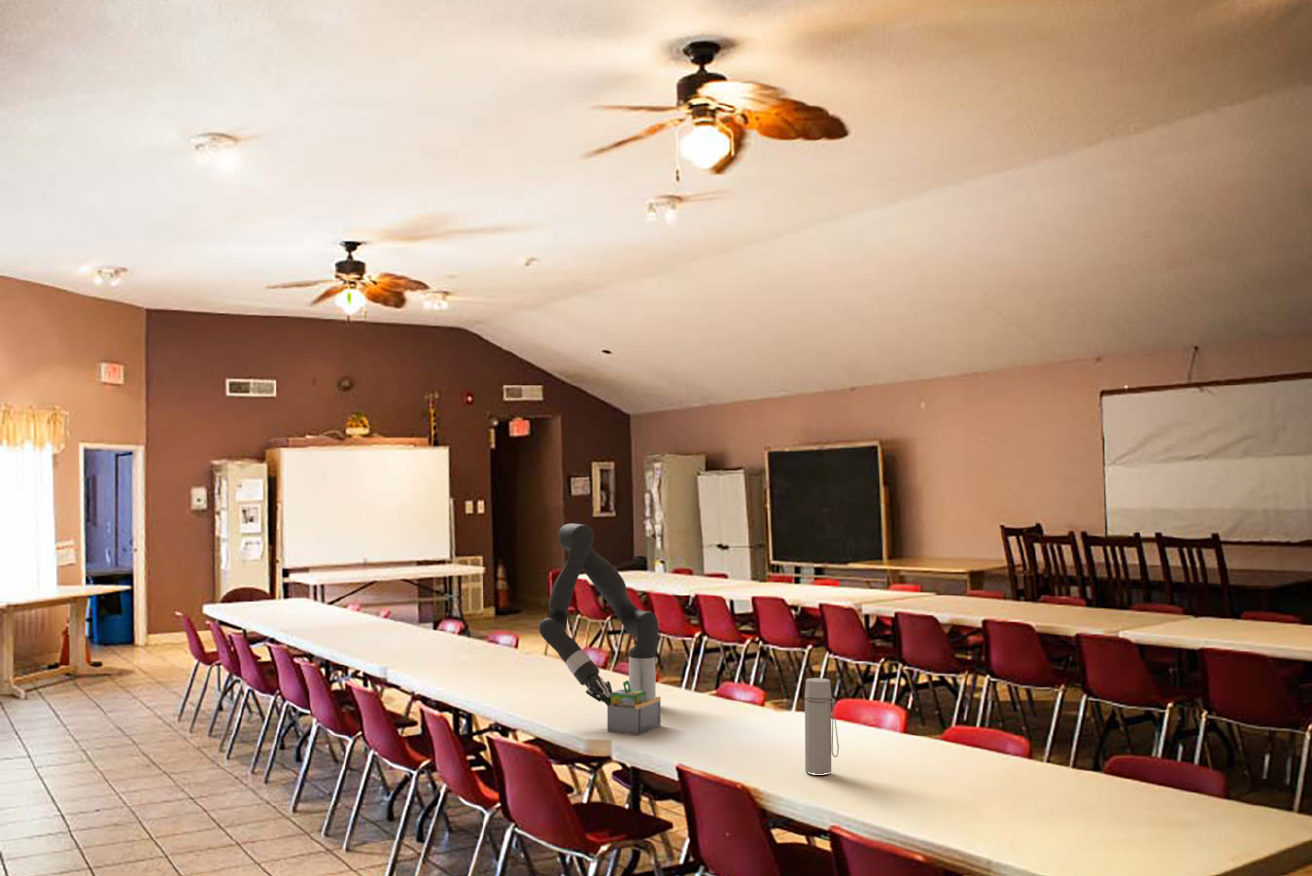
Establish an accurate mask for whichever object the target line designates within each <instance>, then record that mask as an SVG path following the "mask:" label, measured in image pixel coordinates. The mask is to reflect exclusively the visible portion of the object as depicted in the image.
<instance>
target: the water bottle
mask: <svg viewBox="0 0 1312 876" xmlns="http://www.w3.org/2000/svg"><path fill="white" fill-rule="evenodd" d="M831 688H832V687H831V680H830V679H828V678H824V677H823V678H822V677H813V678H812V677H811V678H807V679H805V689H804V691H805V692H804V747H805V748H804V754H805V755H804V772H806V771H807V772H810V773H815V774H824V773H829V772H831V773H832V757H834V758H838V756H839V750H840V749H839V748H840V747H839V746H840V744H839V738H838V730H837V728H838V727H837V721H836V712H835V701H836V699H835V698H833V697H832V689H831ZM832 710H833V714H832ZM834 726H835V727H834ZM834 728H835V735H836V744H837V751H836V755H835V754H834Z"/></svg>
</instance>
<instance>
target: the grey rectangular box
mask: <svg viewBox="0 0 1312 876" xmlns="http://www.w3.org/2000/svg"><path fill="white" fill-rule="evenodd" d="M661 701H662V700H661V696H656V697H655V698H653V699H650V700H646V701H645V702H642V703H639V704H637V705H635V708H634V707H624V706H613V705H609V706H607V705H606V706H607V708H606V709H607V710H606V711H607V717H606V718H607V721H606V722H607V724H606V725H607V726H606V728H607V731H610V733H616V732H620V733H619V734H625V733H629V734H628V735H634V734H636V735H635V736H639V735H638V734H640V735H642V734H644V733H646V731H647V732H649V731H651V730H653V728H654V729H656V728H658V727H660V726H661V705H662V704H661ZM657 726H658V727H657ZM655 727H656V728H655ZM650 729H651V730H650ZM648 730H649V731H648ZM643 732H644V733H643ZM641 733H642V734H641Z"/></svg>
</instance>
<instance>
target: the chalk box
mask: <svg viewBox="0 0 1312 876" xmlns="http://www.w3.org/2000/svg"><path fill="white" fill-rule="evenodd" d="M622 685H623V689H618V690H616V691H612V692H613V693H611V705H613V706H624V707H634V708H635V705H637V704H639V703H642V702H645V701H646V691H638V690H631V688H630V684H629V679H628V680H625V681H623V682H622Z"/></svg>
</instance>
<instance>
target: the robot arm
mask: <svg viewBox="0 0 1312 876" xmlns="http://www.w3.org/2000/svg"><path fill="white" fill-rule="evenodd" d="M594 535H595V534H594V531H593V529H592V528H591V527H590V526H589V525H586V524H581V523H567V524H564V525H563V526H562V527H561V528H560V529H559V532H558V539H559V543H560V545H561V546H562V548H563V549H564V550H565V551H566V552H567V554H568V558H567V561H566V563H565V565H564V567H563V568H562V570H561V571H560V573H559V574H558V576H557V578H556V579H555V581H554V582H553V585H552V589H551V593H550V596H549V600H548V604H547V605H548V609H549V612H548V617H546V618H544V619H542V620H541V622H540V623H539V625H538V626H539V627H538V631H539V633H540V635H541V637H542V638H543V639H544V641H545V642H546V643H547V644H548V645H549V646H550V647H551V648H552V649H554V651H555V652H556V653H557V655H558V656H559V657H560V658H561V660H562V661H563V662H564V663H565V665H566V666H567V668H568V670H569V671H570V673H571V674H572V675H573V677H574V678H575V679H576V680H577V681H578V683H579V684H580V685H581V686H585V687H586V688H587V689H586V691H585V693H586V694H587V695H589V696H590V697H591V698H593V699H594V700H597V701H598V702H602V703H605V705H606V706H609V705H611V693H613V692H614V691H613V688H612V685H611V681H609V680H608V681H604V679H603V678H602V677H601V676H600V675H599V674H600V669H599V668H598V666H597V665H596V664H595V662H593V660H592V659H591V657H590V656H588V654H587V653H586V652H585V651H584V650H583V649H582V647H581V646H580V645H579V643H578V642H576V640H575V639H574V638H572V637H571V636H569V634H567V632H566V630H567V627H568V626H567V625H568V618H569V608H570V604H571V601H572V598H573V593H574V590H575V587H576V584H577V581H578V579H579V576H580V573H581V571H583V572H584V573H585V575H586V576H587V578H588V579H589V580H590V581H591V582H592V584H593V585H594V587H595V588H596V590H597V592H599V593H600V595H601V596H602V597H603V599H604V600H605V601H606V602H607V604H608V605H609V606H610V607H611V609H612V610H613V611H614V613H615V614H616V616H617V618H618V620H619V621H620V622H621V625H622V626H623V628H624V630H625V631H626V632H627V633H628V634H629V635H631V636H633V637H636V644H635V645H634V646H633V647H630V648H629V650H628V681H629V684H630V688H631V690H638V691H646V700H650V699H653V698H655V697H657V695H656V693H657V692H656V689H657V687H656V684H657V683H656V651H657V649H658V643H659V639H658V638H659V620H658V617H657V615H656V614H655V613H653V612H652V611H648V610H647V611H646V610H641V609H638V607H636V605H634V603H633V602H632V600H630V598H629V596H628V592H627V591H628V590H627V586H626V582H625V580H624V579H623V577H622V576H621V573H619V571H618V570H617V569H616V567H615V566H613V564H612V563H610V562H609V561H608V560H607V559H605V558H604V557H602V556H601V555H600V554H599V553H597V551H595V550H594V549H593V547H592V545H593V543H594Z"/></svg>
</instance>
